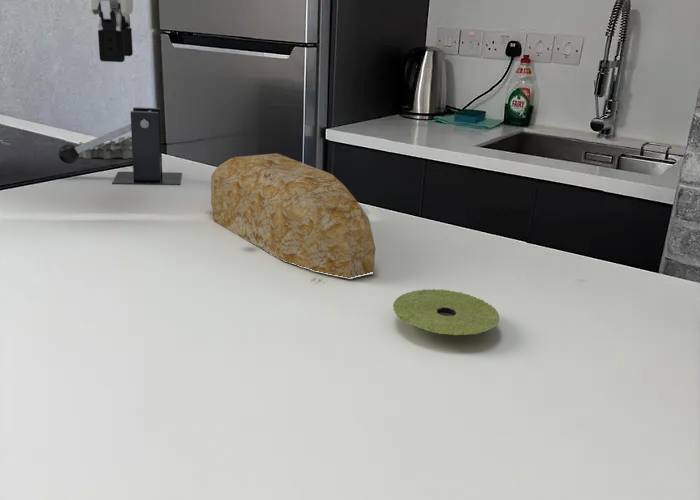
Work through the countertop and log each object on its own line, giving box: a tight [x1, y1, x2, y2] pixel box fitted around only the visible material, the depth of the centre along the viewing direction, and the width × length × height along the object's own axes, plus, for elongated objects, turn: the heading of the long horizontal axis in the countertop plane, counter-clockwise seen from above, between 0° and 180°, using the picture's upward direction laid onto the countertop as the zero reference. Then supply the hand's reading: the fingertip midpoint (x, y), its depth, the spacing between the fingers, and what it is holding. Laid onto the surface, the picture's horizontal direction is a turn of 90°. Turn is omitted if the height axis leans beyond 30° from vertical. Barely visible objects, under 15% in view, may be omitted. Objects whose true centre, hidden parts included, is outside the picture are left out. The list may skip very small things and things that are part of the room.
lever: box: [58, 110, 152, 164], centre depth 114 cm, size 17×3×3 cm, turn 101°
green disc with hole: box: [392, 288, 501, 336], centre depth 73 cm, size 11×11×2 cm
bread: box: [210, 152, 376, 278], centre depth 96 cm, size 36×11×10 cm, turn 38°
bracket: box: [111, 106, 183, 186], centre depth 116 cm, size 11×8×13 cm
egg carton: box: [77, 136, 133, 160], centre depth 132 cm, size 11×8×4 cm
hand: (117, 58), depth 98 cm, fingers open, 9 cm apart
